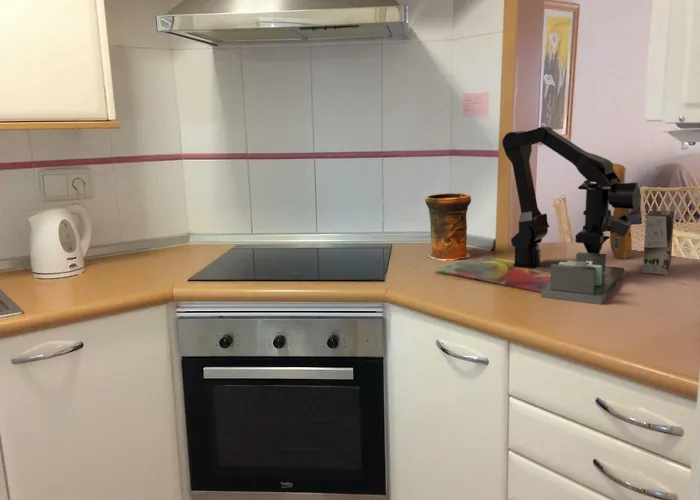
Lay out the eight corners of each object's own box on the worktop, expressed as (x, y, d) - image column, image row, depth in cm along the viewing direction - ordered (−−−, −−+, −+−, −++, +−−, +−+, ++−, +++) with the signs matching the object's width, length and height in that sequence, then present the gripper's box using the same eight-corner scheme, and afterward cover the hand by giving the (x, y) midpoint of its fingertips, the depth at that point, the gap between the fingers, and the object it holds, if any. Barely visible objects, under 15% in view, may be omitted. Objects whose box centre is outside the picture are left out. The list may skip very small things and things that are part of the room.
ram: (557, 281, 154) (558, 263, 153) (572, 268, 166) (572, 251, 165) (599, 285, 149) (600, 267, 148) (611, 272, 161) (612, 254, 160)
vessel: (445, 263, 187) (444, 199, 183) (418, 256, 199) (416, 196, 195) (481, 256, 194) (480, 194, 190) (452, 250, 206) (451, 191, 202)
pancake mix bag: (609, 260, 182) (613, 166, 176) (604, 246, 200) (608, 160, 194) (633, 260, 180) (639, 165, 174) (626, 247, 198) (631, 160, 192)
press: (541, 297, 150) (541, 265, 148) (571, 269, 174) (571, 242, 172) (601, 304, 142) (602, 271, 141) (624, 274, 166) (625, 246, 164)
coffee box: (668, 275, 163) (672, 216, 160) (641, 273, 167) (645, 215, 163) (671, 267, 171) (675, 210, 167) (646, 265, 174) (649, 209, 171)
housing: (562, 288, 149) (563, 265, 148) (567, 283, 153) (568, 260, 152) (583, 291, 146) (584, 267, 145) (588, 285, 151) (589, 262, 149)
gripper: (622, 213, 151) (619, 274, 154) (636, 202, 166) (633, 258, 169) (575, 211, 157) (573, 269, 160) (593, 201, 172) (591, 254, 175)
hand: (594, 263), depth 166 cm, fingers closed
